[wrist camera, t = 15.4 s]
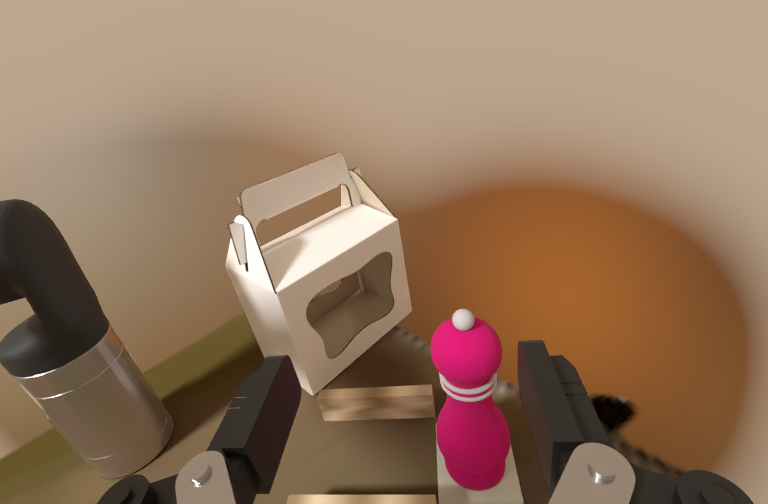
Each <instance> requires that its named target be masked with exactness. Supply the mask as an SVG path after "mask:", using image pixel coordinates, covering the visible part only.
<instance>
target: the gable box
mask: <svg viewBox="0 0 768 504" xmlns="http://www.w3.org/2000/svg"><path fill="white" fill-rule="evenodd" d="M340 186H341V206H340V207H338V208H336V209H334V210H332V211H330V212H328V213H326V214H324V215H322V216H320V217H319V218H317V219H315V220H313V221H311V222H309V223H307V224H305V225H303V226H301V227H299V228H297V229H295V230H293V231H291V232H289V233H287V234H285V235H284V236H281V237H279V238H277V239H275V240H273V241H271V242H269V243H267V244H265V245H264V246H261V247H260V245H259V242H258V239H257V236H256V227H257V225H258V223H262V222H264V221H265V220H266V219H268V218H270V217H273V216H275V215H277V214H279V213H281V212H284V211H286V210H288V209H290V208H292V207H294V206H297V205H299V204H301V203H303V202H305V201H307V200H309V199H312V198H314V197H316V196H318V195H320V194H322V193H325V192H327V191H329V190H331V189H333V188H335V187H340ZM236 200H237V202H238V203H239V206H240V207H241V209H242V215H239V216H237V217H236V218H235V220H234V222H232V223H230V224H228V229H229V231H230V235H231V241H230V245H229V250H228V255H227V260H226V265H225V267H226V269H227V272H228V274H229V276H230V278H231V281H232V283H233V286H234V288H235V290H236V293H237V295H238V297H239V300H240V302H241V304H242V307H243V309H244V311H245V314H246V316H247V318H248V321H249V323H250V325H251V328H252V330H253V332H254V335H255V337H256V339H257V342H258V344H259V346H260V349H261V351H262V354H263V356H264V358H266V357H267V356H278V355H288V356H289V357H290V358H291V361H292V363H293V366H294V369H295V371H296V374H297V376H298V379H299V382H300V385H301V387H302V388H303V389H305V390H306V391H307V392H308V393H310V394H311V395H312V396H314V395H315V394H316V393H318V392H319V390H321V389H322V388H323V387H325V386H326V385H327V384H328V383H329V382H330V381H332V380H333V379H334V378H335V377H336V376H337V375H339V374H340V373H341V372H342V371H343V370H344V369H345V368H347V367H348V366H349V365H350V364H351V363H352V362H354V361H355V360H356V359H357V358H358V357H359V356H361V355H362V354H363V353H364V352H365V351H366V350H368V349H369V348H370V347H371V346H372V345H373V344H374V343H376V342H377V341H378V340H379V339H380V338H381V337H383V336H384V335H385V334H386V333H387V332H388V331H390V330H391V329H392V328H393V327H394V326H395V325H397V324H398V323H399V322H400V321H401V320H402V319H403V318H405V317H406V316H407V315H408V314H409V313H410V312H412V306H411V300H410V294H409V288H408V281H407V275H406V269H405V263H404V256H403V250H402V244H401V239H400V231H399V225H398V220H397V218H396V217H395V215H394V214H393V213H392V212H391V211H390V210H389V209H388V207H387V206H386V205H385V204H384V203H383V202H382V200H381V199H380V198H379V197H378V196H377V195H376V193H375V192H374V191H373V190H372V189H371V188H370V187H369V185H367V183H366V182H365V181H364V180H363V179H362V177H361V174H360V170H359V168H354V169H353V170H350V169H347V166H346V163H345V160H344V158H343V156H342V155H341V154H339V153H334V154H332V155H329V156H327V157H324V158H321V159H319V160H316V161H314V162H311V163H309V164H306V165H303V166H301V167H298V168H296V169H293V170H291V171H288V172H286V173H283V174H281V175H278V176H276V177H273V178H270V179H268V180H265V181H263V182H260V183H257V184H255V185H252V186H250V187H247V188H245V189H243V190H242V191H241V192H240V196H239V197H238V198H236ZM362 202H364V204H365V205H364V204H362ZM339 279H341V284H340V286H339V288H338V289H336V290H335V291H334V292H331V293H329V294H325V295H322V296H320V297H318V298H316V299H314V300H312V301H311V299H312V298H313V297H314V296H315V295H316V294H317V293H318V292H319V291H321V290H322V289H323V288H325V287H326V286H328V285H329V284H331V283H333V282H335V281H337V280H339ZM360 289H361V290H360ZM310 301H311V302H310Z"/></svg>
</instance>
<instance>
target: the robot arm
mask: <svg viewBox="0 0 768 504" xmlns="http://www.w3.org/2000/svg"><path fill="white" fill-rule="evenodd" d="M21 298H26V299H27V301H28V302H29V304H30V305H31V307H32V309H33V311H34V313H35V314H34V315H32V316H31V317H30V318H28V319H27V320H25V321H24V322H22V323H21V324H19V325H18V326H17V327H15V328H14V329H13V330H12V331H10V332H9V333H8V334H7V335H6V336H5V337H4V338H3V340H2V341H1V342H0V363H1V364H2V366H3V367H4V368H5V369H6V370H7V371H8V372H9V373H10V374H11V375H12V377H13V378H14V379H15V380H16V381H17V382H18V383H19V384H20V385H21V386H22V388H23V389H24V390H25V391H26V392H27V393H28V395H29V396H31V398H32V399H33V400H34V401H35V402H36V403H37V404H38V406H39V407H40V408H41V409H42V410H43V411H44V412H45V413H46V414H47V420H48V421H49V422H50V423H51V424H52V425H53V427H54V428H55V429H56V430H57V431H58V432H59V433H60V434H61V435H62V437H63V438H64V439H65V440H66V441H67V442H68V443H69V444H70V446H71V447H72V448H73V449H74V450H75V451H76V452H77V453H78V454H79V456H80V457H81V458H82V459H83V460H84V461H85V462H86V463H87V465H88V466H89V467H93V468H94V469H95V470H96V471H97V472H98V474H100V475H101V476H102V477H104V478H108V479H115V478H120V477H124V476H126V475H129V474H132V473H133V472H135V471H137V470H139V469H141V468H142V467H144V466H145V465H147V464H148V463H149V462H150V461H152V460H153V459H154V458H155V457H156V456H157V455H158V454H159V453H160V452H161V451H162V450H163V449H164V447H165V446H166V444H167V443H168V442H169V440H170V438H171V436H172V433H173V430H174V422H173V419H172V418H171V416H170V414H169V413H168V411H167V410H166V408H165V407H164V405H163V404H162V402H161V401H160V399H159V397H158V396H157V394H156V393H155V391H154V390H153V388H152V387H151V385H150V384H149V382H148V380H147V379H146V377H145V376H144V374H143V373H142V371H141V370H140V368H139V367H138V365H137V364H136V362H135V361H134V359H133V358H132V356H131V354H130V353H129V352H128V350H127V348H126V347H125V345H124V344H123V342H122V341H121V339H120V338H119V336H118V335H117V333H116V332H115V330H114V329H113V327H112V326H111V324H110V323H109V321H108V319H107V318H106V317H105V315H104V313H103V311H102V309H101V306H100V304H99V301H98V299H97V296H96V294H95V292H94V290H93V288H92V287H91V285H90V284H89V282H88V280H87V279H86V277H85V275H84V273H83V272H82V270H81V268H80V266H79V265H78V263H77V261H76V259H75V258H74V256H73V254H72V252H71V250H70V248H69V246H68V244H67V242H66V241H65V239H64V237H63V236H62V234H61V232H60V231H59V230H58V228H57V227H56V225H55V224H54V222H53V221H52V220H51V219H50V218H49V217H48V216H47V215H46V213H45V212H43V211H42V210H41V209H40V208H38V207H37V206H35V205H33V204H32V203H30V202H27V201H24V200H18V199H14V200H5V201H0V305H1V304H4V303H8V302H11V301H14V300H18V299H21ZM518 383H519V389H520V393H521V397H522V400H523V404H524V408H525V411H526V415H527V418H528V422H529V425H530V429H531V432H532V436H533V439H534V443H535V447H536V450H537V454H538V457H539V461H540V464H541V468H542V471H543V475H544V478H545V482H546V486H547V489H548V493H549V495H552V497H551V499H550V501H549V503H548V504H753V502H752V501H751V500H750V498H749V497H748V496H747V495H746V494H745V493H744V492H743V491H742V490H741V489H740V488H739V487H738V486H736V485H735V484H733V483H732V482H730V481H729V480H727V479H725V478H723V477H721V476H719V475H717V474H714V473H711V472H708V471H701V470H692V471H688V472H686V473H684V474H682V475H681V476H680V478H679V479H676V478H673V477H669V476H665V475H662V474H658V473H654V472H651V471H648V470H645V469H642V468H640V467H637V466H636V465H634V464H632V463H630V462H629V461H627V460H626V459H625V457H623V456H622V455H621V454H620V453H619V452H617V451H616V450H615V448H614V447H613V446H612V444H611V442H610V441H609V439H608V436H607V434H606V432H605V430H604V428H603V426H602V424H601V422H600V420H599V417H598V415H597V413H596V411H595V409H594V407H593V405H592V403H591V400H590V398H589V396H587V392H586V390H585V388H584V386H583V384H582V381H581V379H580V377H579V375H578V373H577V371H576V369H575V367H574V366H573V365H572V364H571V363H570V362H569V361H568V360H567V359H565V358H564V357H563V356H562V355H560V356H549V354H548V351H547V349H546V346H545V344H544V342H543V341H542V340H533V341H519V342H518ZM300 400H301V385H300V382H299V379H298V376H297V374H296V371H295V369H294V366H293V363H292V361H291V358H290V357H289V356H288V355H278V356H267V357H266V358H265V359H264V361H263V363H262V365H261V367H260V369H259V371H257V372H252V373H251V374H250V375H249V376H248V377H247V378H246V380H245V381H244V382H243V383H242V384H241V386H240V388H239V390H238V392H237V393H236V395H235V399H233V401H232V403H231V405H230V409H229V410H228V411H227V413H226V414H225V416H224V418H223V420H222V422H221V424H220V426H219V428H218V430H217V432H216V434H215V435H214V437H213V439H212V441H211V443H210V445H209V447H208V449H207V450H206V452H203V453H201V454H199V455H197V456H195V457H194V458H192V459H191V460H190V461H189V462H188V463H187V464H186V465H185V466H184V467H183V468H182V470H181V471H180V473H179V474H177V475H174V476H171V477H168V478H165V479H162V480H159V481H156V482H153V483H149V481H148V480H147V479H146V478H145V477H144V476H143V475H132V476H128V477H126V478H124V479H122V480H120V481H119V482H117V483H116V484H114V485H113V486H112V487H111V488H110V489H109V490H108V491H107V492H106V493H105V494H104V495H103V496H102V497H101V499H100V500H99V502H98V503H97V504H253V502H254V499H255V497H256V494H269V493H270V490H271V487H272V484H273V481H274V478H275V475H276V472H277V469H278V466H279V463H280V460H281V457H282V454H283V451H284V448H285V445H286V442H287V439H288V436H289V433H290V430H291V427H292V425H293V422H294V419H295V416H296V413H297V410H298V407H299V404H300Z"/></svg>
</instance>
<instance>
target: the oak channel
mask: <svg viewBox="0 0 768 504" xmlns="http://www.w3.org/2000/svg"><path fill="white" fill-rule="evenodd" d="M317 402H318V405H319V407H320V410H321V413H322V416H323V418H324V421H347V420H377V419H407V418H436V415H435V402H434V395H433V389H432V385H411V386H389V387H368V388H346V389H325V390H319V394H318V397H317ZM287 504H437V501H436V495H289V497H288V500H287Z"/></svg>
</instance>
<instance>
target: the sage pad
mask: <svg viewBox="0 0 768 504" xmlns="http://www.w3.org/2000/svg"><path fill="white" fill-rule="evenodd" d="M436 427H437V423H436ZM436 445H437V472H438V498H439V504H524V502H523V497H522V493H521V488H520V484H519V479H518V475H517V470H516V466H515V461H514V457H513V452H512V448H511V443H510V449H509V453H508V455H507V457H506V468H505V473H504V475H503V477H502V479H501V480H500V481H499V483H498V484H496V485H495V486H494V487H492V488H490V489H487V490H482V491H474V490H470V489H466V488H464V487H462V486H461V485H459V484H458V483H456V482H455V481H454V480H453V479H452V477H451V476H450V475H449V473H448V471H447V469H446V465H445V460H444V456H443V455H442V453H441V451H440V449H439V446H438V444H437V436H436Z"/></svg>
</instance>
